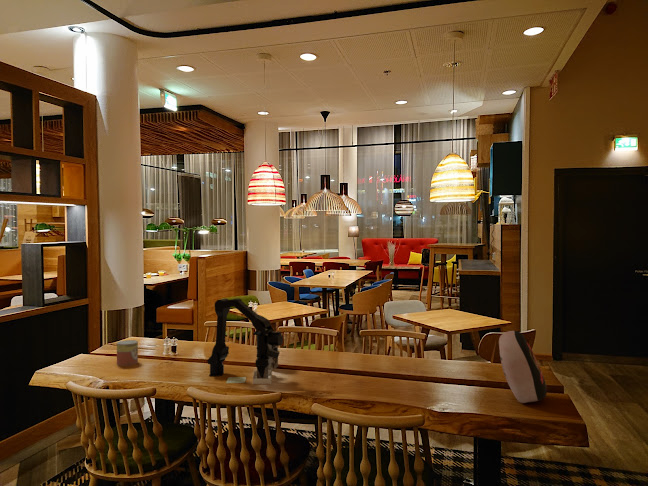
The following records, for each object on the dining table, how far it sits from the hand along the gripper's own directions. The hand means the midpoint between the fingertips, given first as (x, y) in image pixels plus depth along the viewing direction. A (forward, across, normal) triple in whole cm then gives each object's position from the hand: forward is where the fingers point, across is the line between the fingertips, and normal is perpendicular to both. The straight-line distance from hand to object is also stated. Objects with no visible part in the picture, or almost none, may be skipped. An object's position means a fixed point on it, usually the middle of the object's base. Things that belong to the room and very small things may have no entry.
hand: (262, 375), depth 235 cm
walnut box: (+2, 0, 0) cm, 2 cm away
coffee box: (+3, +22, -4) cm, 23 cm away
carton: (+2, 0, 0) cm, 2 cm away
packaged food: (+3, -39, -116) cm, 122 cm away
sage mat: (+2, 0, +13) cm, 13 cm away
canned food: (+3, +40, +78) cm, 88 cm away
